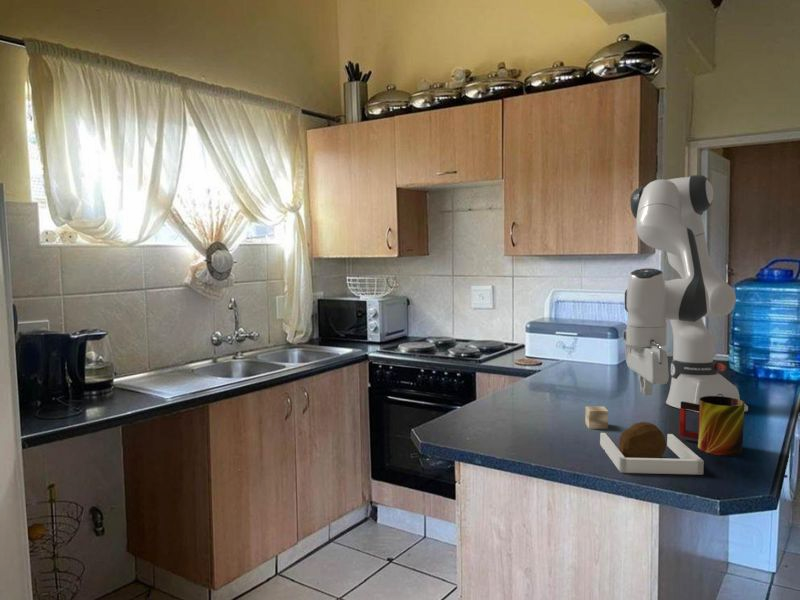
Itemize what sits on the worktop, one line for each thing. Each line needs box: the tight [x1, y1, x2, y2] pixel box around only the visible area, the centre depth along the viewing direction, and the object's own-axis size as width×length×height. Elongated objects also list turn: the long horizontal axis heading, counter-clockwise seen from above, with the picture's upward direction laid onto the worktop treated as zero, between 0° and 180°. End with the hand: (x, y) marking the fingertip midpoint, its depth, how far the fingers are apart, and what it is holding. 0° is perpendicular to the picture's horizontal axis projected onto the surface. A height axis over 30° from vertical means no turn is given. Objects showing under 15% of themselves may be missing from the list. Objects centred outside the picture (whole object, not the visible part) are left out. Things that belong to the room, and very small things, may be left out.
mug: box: [678, 396, 745, 457], centre depth 149 cm, size 10×14×12 cm
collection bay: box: [599, 432, 705, 476], centre depth 143 cm, size 17×19×3 cm
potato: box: [618, 421, 667, 458], centre depth 142 cm, size 8×12×9 cm
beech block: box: [584, 405, 609, 430], centre depth 169 cm, size 5×5×5 cm
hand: (646, 394), depth 148 cm, fingers closed
